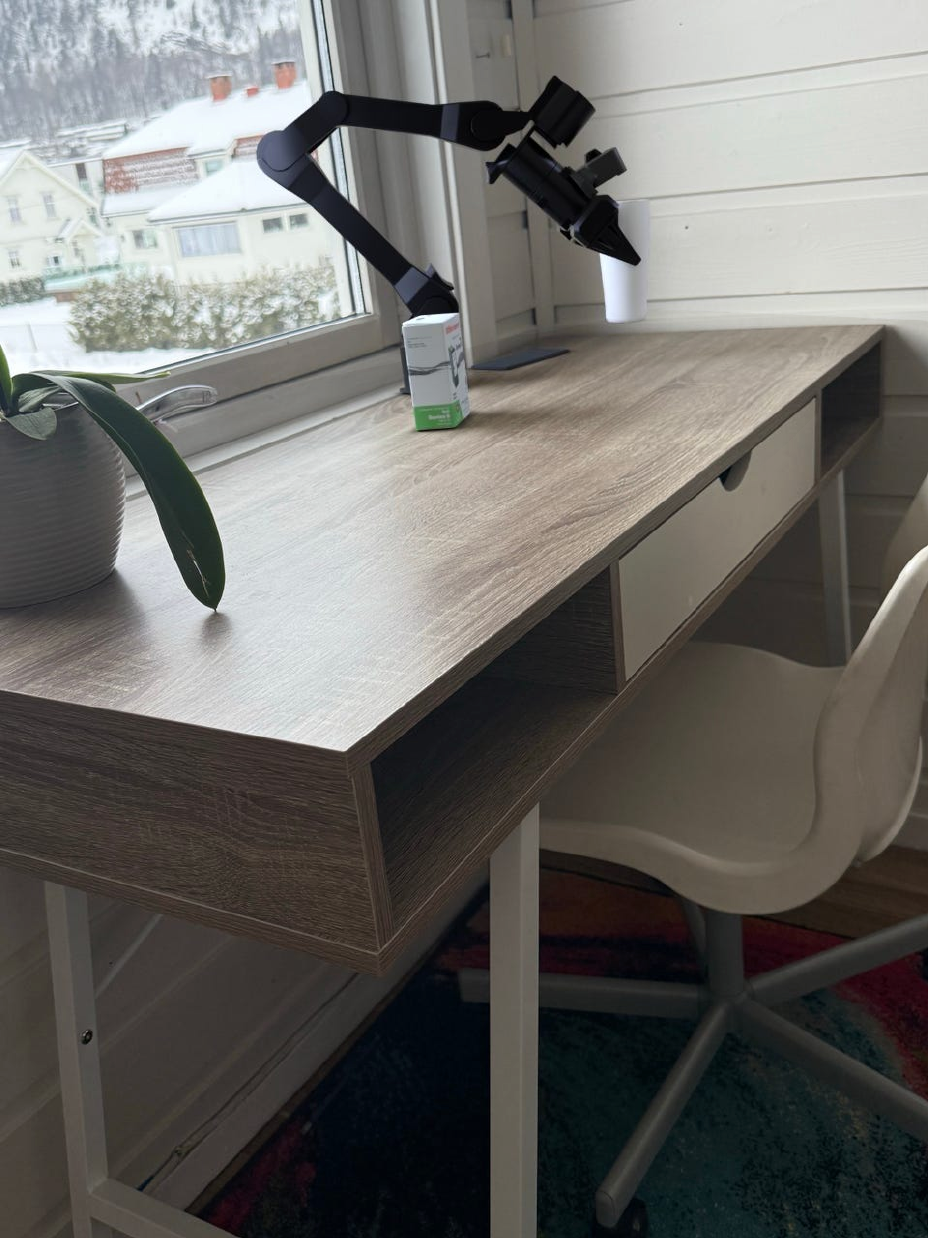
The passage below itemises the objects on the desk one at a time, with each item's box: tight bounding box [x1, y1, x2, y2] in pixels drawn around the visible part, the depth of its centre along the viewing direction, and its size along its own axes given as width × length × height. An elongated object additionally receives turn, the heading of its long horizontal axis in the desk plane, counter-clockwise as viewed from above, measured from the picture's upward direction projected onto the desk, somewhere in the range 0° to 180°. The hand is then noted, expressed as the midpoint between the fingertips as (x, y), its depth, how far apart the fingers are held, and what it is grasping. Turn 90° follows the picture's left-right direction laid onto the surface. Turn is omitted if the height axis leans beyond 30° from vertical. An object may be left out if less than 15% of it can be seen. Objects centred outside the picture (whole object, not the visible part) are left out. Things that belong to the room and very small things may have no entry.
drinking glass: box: [598, 198, 651, 325], centre depth 148 cm, size 7×7×15 cm
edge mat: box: [470, 348, 570, 371], centre depth 169 cm, size 14×7×1 cm, turn 136°
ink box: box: [401, 312, 471, 431], centre depth 130 cm, size 9×5×12 cm, turn 168°
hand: (633, 261), depth 148 cm, fingers closed on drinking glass, 6 cm apart
